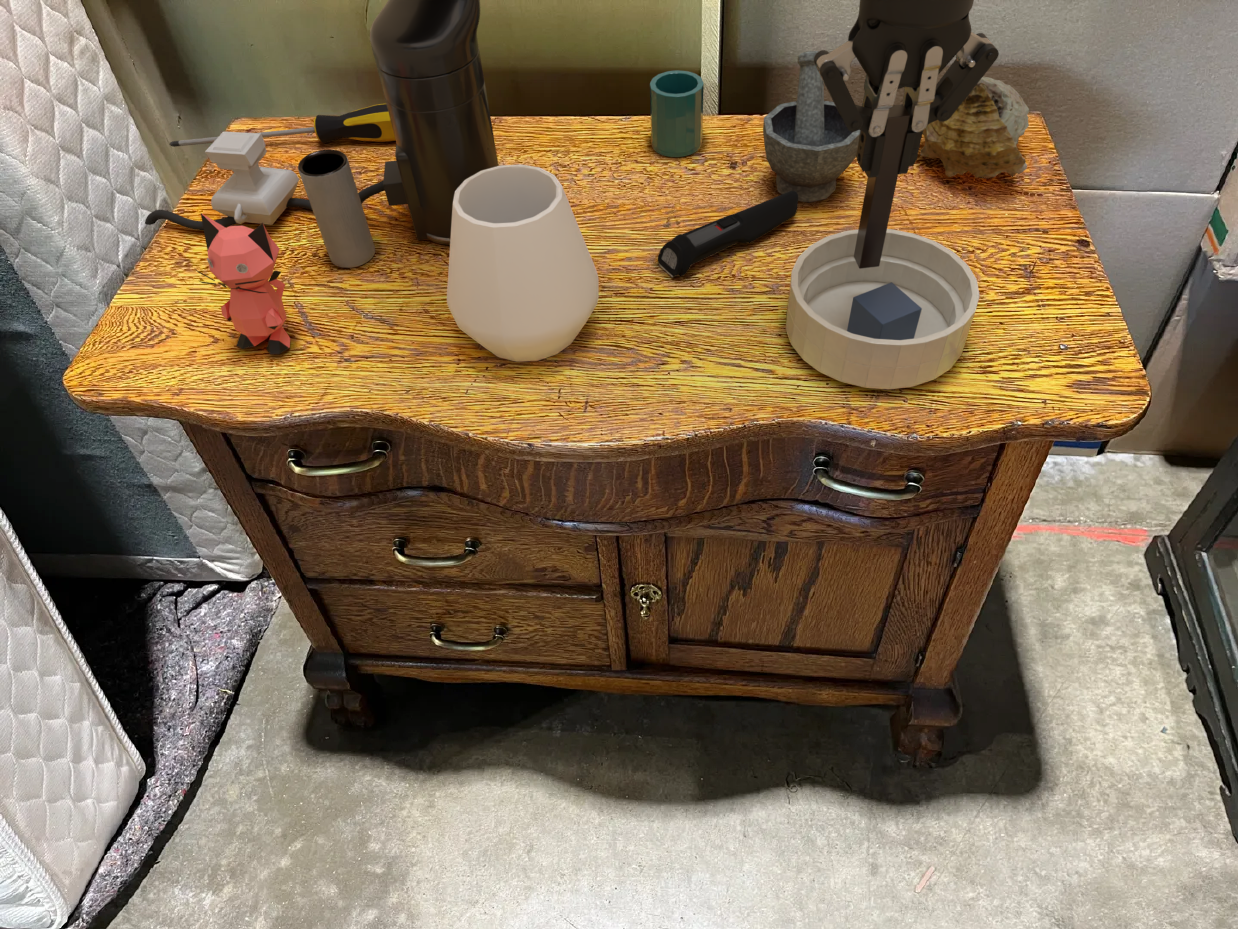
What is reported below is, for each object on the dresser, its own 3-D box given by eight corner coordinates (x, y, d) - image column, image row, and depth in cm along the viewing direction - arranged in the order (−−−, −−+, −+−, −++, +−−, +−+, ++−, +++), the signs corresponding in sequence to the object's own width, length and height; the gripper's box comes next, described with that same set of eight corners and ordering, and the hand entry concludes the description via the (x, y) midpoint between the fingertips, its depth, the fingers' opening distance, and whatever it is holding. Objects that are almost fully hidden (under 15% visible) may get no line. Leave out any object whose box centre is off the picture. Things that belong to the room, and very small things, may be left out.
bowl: (809, 404, 74) (817, 354, 70) (768, 287, 84) (773, 238, 80) (990, 382, 75) (1008, 332, 71) (928, 269, 85) (941, 219, 81)
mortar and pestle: (858, 211, 91) (878, 97, 82) (764, 214, 92) (773, 101, 83) (842, 150, 98) (859, 40, 89) (755, 153, 99) (763, 43, 90)
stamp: (273, 242, 93) (242, 168, 86) (215, 235, 94) (181, 162, 88) (311, 192, 98) (286, 120, 92) (256, 187, 100) (227, 115, 93)
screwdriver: (428, 125, 106) (180, 149, 108) (420, 97, 103) (166, 123, 105) (424, 140, 103) (171, 165, 105) (416, 112, 101) (157, 138, 103)
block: (874, 360, 76) (882, 324, 73) (846, 332, 79) (852, 296, 76) (912, 344, 77) (922, 308, 74) (883, 317, 80) (891, 281, 77)
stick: (859, 269, 79) (887, 118, 68) (853, 256, 80) (880, 106, 69) (879, 266, 79) (910, 115, 68) (873, 254, 80) (903, 103, 69)
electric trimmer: (805, 226, 90) (809, 198, 88) (677, 282, 85) (677, 254, 83) (781, 208, 92) (784, 181, 90) (654, 262, 88) (654, 234, 85)
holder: (655, 159, 99) (654, 98, 94) (648, 133, 103) (646, 73, 97) (706, 154, 99) (707, 93, 94) (697, 127, 103) (698, 67, 98)
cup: (615, 285, 86) (606, 151, 75) (586, 385, 77) (572, 250, 66) (478, 275, 88) (451, 143, 77) (436, 371, 79) (399, 238, 68)
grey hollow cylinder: (383, 244, 92) (356, 152, 84) (361, 271, 89) (331, 178, 81) (344, 237, 93) (314, 145, 85) (321, 264, 90) (287, 171, 82)
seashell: (997, 30, 93) (918, 94, 101) (966, 81, 84) (882, 147, 92) (1062, 113, 95) (980, 169, 103) (1038, 171, 86) (950, 229, 94)
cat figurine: (212, 353, 81) (167, 230, 73) (256, 313, 86) (219, 194, 78) (281, 367, 79) (244, 242, 71) (322, 325, 84) (291, 205, 76)
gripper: (1009, -98, 62) (951, 136, 75) (810, -78, 61) (787, 154, 75) (1056, -56, 57) (985, 187, 70) (841, -34, 56) (810, 206, 70)
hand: (883, 169), depth 72 cm, fingers closed on stick, 2 cm apart
